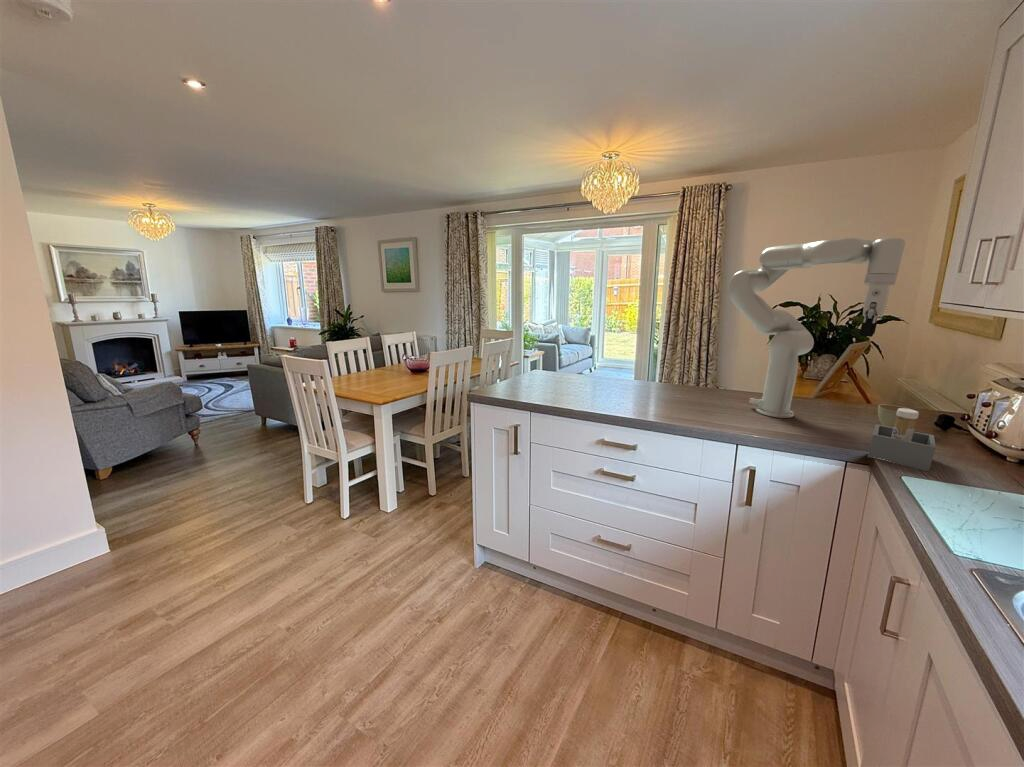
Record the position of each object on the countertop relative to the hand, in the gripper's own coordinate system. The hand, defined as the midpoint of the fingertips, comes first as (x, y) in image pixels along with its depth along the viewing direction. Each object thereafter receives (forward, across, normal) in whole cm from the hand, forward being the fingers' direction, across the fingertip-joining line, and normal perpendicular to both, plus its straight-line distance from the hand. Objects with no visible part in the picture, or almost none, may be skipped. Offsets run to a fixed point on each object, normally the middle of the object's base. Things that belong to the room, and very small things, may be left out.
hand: (866, 334), depth 135 cm
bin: (+33, -15, -14) cm, 39 cm away
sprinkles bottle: (+32, -15, -14) cm, 38 cm away
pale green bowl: (+34, +19, -12) cm, 40 cm away
